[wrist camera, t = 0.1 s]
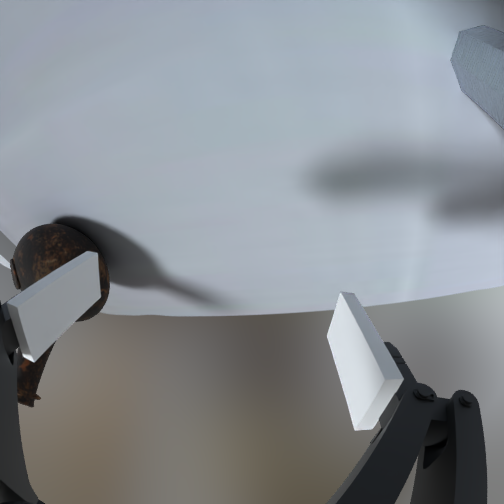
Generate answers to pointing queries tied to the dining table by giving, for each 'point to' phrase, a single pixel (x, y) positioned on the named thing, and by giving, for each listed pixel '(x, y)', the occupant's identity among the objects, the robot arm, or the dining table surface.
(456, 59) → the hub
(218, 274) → the dining table surface
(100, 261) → the dark brown rounded piece
